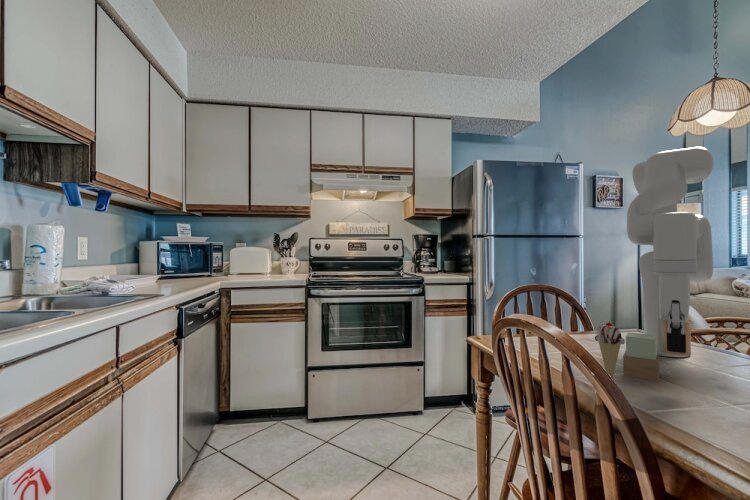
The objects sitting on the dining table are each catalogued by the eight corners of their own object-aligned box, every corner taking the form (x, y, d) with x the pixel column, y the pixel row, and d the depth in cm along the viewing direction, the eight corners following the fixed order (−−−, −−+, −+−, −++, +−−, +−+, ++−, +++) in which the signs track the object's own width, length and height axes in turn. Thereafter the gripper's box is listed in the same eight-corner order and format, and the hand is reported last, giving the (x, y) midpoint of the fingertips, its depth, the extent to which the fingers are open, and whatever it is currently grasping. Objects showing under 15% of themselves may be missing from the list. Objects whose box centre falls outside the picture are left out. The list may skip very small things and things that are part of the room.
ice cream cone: (630, 393, 81) (628, 324, 81) (601, 391, 82) (600, 324, 82) (618, 384, 86) (617, 320, 87) (591, 383, 87) (590, 319, 88)
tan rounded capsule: (662, 348, 86) (661, 318, 86) (690, 351, 82) (689, 320, 82) (661, 353, 82) (661, 322, 82) (691, 357, 79) (690, 324, 79)
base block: (626, 369, 98) (625, 350, 98) (659, 374, 94) (658, 354, 94) (623, 376, 93) (623, 356, 93) (658, 381, 88) (658, 360, 88)
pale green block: (628, 351, 98) (627, 332, 98) (656, 354, 94) (656, 335, 94) (626, 356, 93) (625, 336, 93) (656, 360, 89) (655, 339, 89)
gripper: (654, 265, 91) (656, 338, 91) (652, 270, 78) (653, 355, 78) (695, 265, 86) (696, 342, 86) (699, 271, 73) (701, 362, 73)
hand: (676, 347), depth 82 cm, fingers closed on tan rounded capsule, 5 cm apart
